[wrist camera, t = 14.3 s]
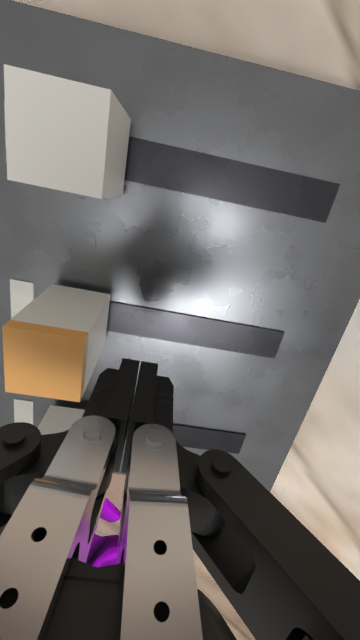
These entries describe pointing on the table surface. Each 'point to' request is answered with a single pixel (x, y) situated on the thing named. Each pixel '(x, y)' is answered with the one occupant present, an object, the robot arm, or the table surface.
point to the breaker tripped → (55, 343)
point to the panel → (195, 231)
